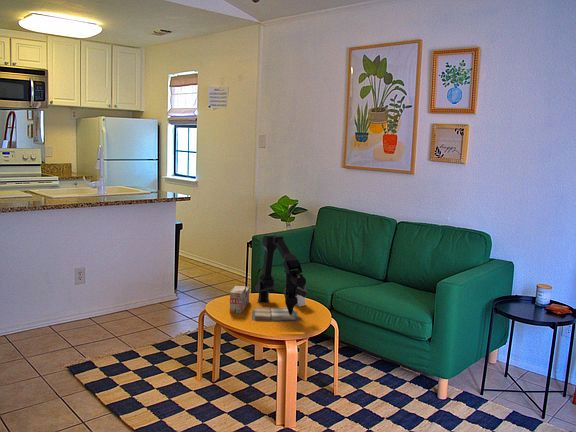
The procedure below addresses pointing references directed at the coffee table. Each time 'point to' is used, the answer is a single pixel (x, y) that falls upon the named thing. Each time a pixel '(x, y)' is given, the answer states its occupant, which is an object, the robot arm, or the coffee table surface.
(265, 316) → the oak board
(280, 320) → the underlay mat
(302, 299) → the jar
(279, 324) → the coffee table surface
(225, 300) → the coffee table surface
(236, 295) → the stack of blocks
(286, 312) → the ash plank
